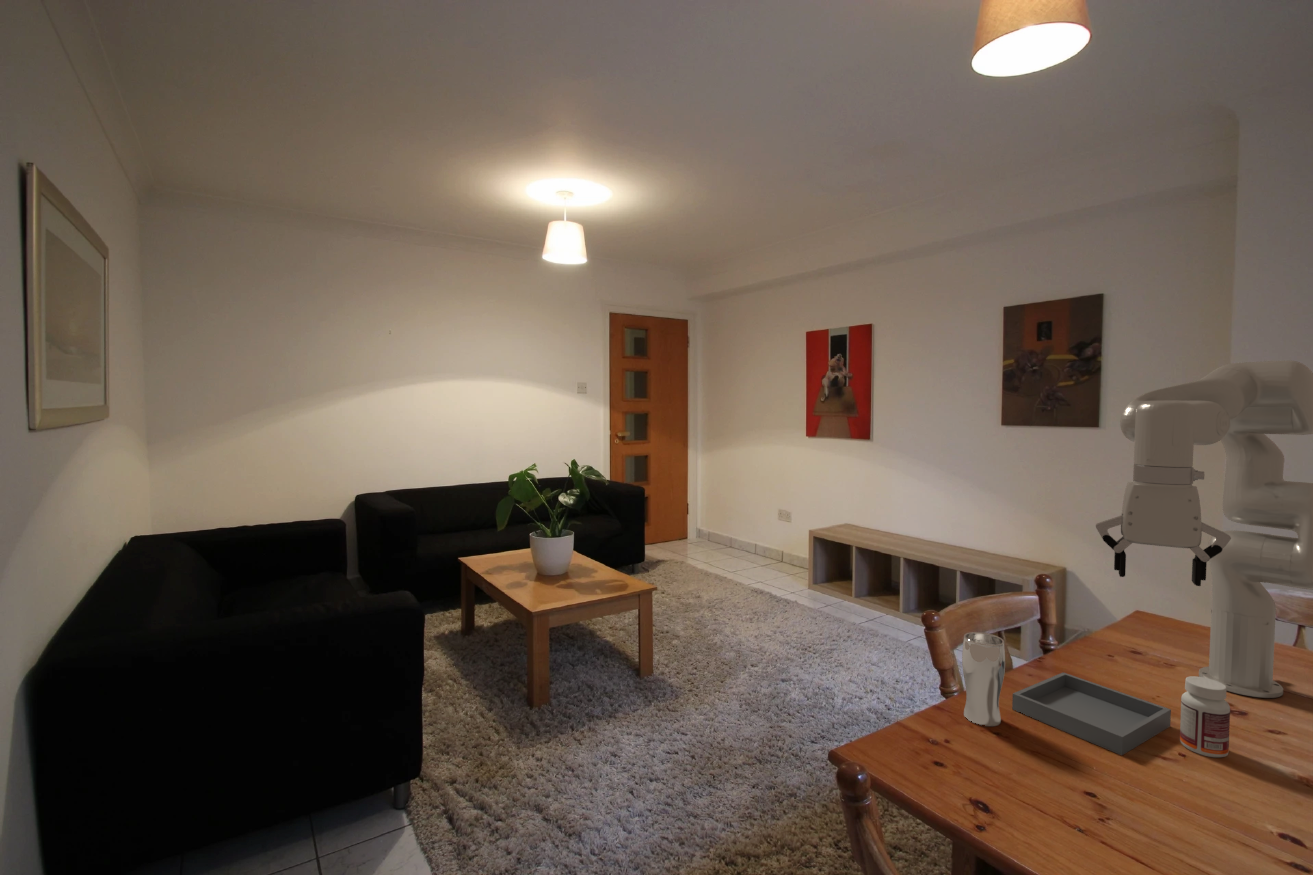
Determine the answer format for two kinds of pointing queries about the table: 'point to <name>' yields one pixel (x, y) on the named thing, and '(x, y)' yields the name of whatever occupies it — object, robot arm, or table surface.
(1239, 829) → the table surface
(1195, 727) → the pill bottle
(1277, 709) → the table surface
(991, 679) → the beer glass
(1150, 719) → the tray
